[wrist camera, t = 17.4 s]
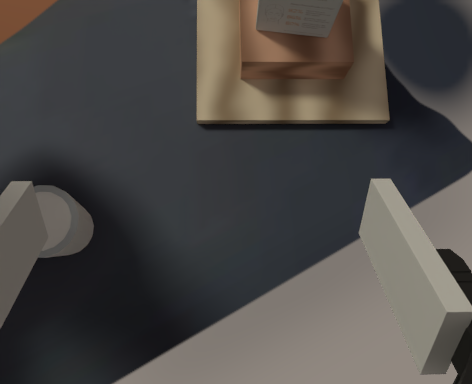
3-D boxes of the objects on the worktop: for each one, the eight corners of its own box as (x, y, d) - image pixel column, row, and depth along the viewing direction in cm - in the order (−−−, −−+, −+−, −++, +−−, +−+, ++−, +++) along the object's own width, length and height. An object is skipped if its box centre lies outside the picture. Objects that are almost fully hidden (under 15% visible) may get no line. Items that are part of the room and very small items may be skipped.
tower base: (197, 123, 49) (194, 106, 44) (198, -43, 53) (195, -77, 48) (385, 123, 50) (404, 105, 44) (371, -41, 54) (386, -74, 49)
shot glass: (88, 268, 45) (64, 266, 38) (26, 252, 45) (-9, 248, 38) (107, 206, 47) (88, 194, 40) (47, 191, 47) (17, 176, 40)
